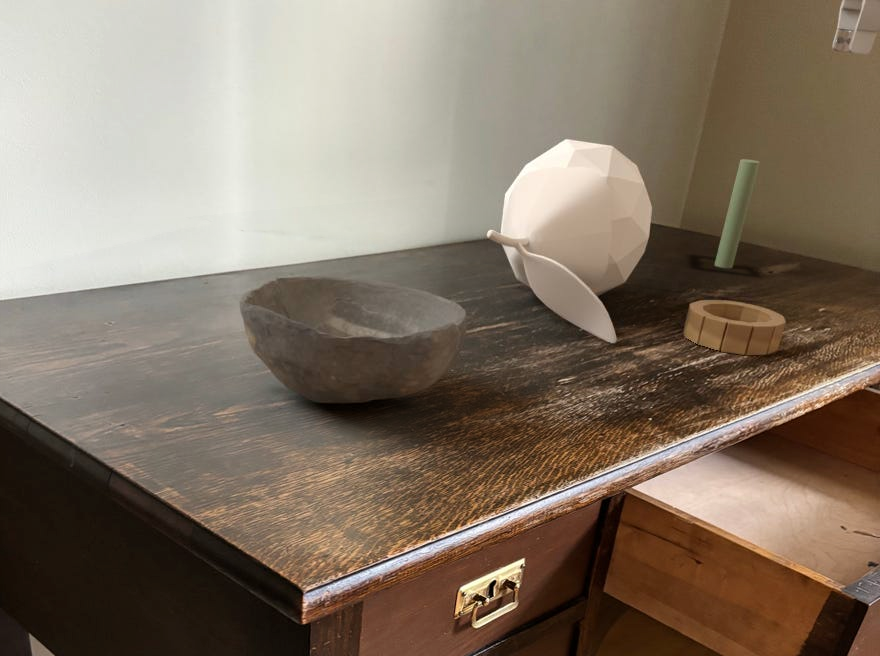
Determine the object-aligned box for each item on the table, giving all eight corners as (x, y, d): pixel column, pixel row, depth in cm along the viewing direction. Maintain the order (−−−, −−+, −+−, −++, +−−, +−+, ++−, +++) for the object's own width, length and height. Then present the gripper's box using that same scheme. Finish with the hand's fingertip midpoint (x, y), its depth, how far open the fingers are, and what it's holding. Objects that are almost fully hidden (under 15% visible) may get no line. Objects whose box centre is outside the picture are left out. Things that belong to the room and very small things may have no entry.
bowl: (488, 388, 84) (501, 294, 80) (405, 454, 71) (414, 345, 66) (308, 347, 90) (310, 257, 85) (198, 401, 76) (195, 297, 72)
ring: (771, 335, 107) (779, 307, 105) (781, 360, 99) (790, 331, 97) (682, 322, 108) (688, 295, 107) (684, 346, 100) (691, 317, 99)
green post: (749, 271, 134) (778, 160, 126) (753, 284, 128) (785, 168, 120) (690, 264, 135) (716, 153, 127) (692, 276, 129) (720, 160, 121)
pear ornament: (604, 100, 109) (498, 111, 89) (732, 251, 110) (656, 298, 89) (511, 211, 120) (397, 244, 100) (627, 349, 121) (538, 410, 100)
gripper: (978, -148, 74) (907, 60, 82) (918, -116, 91) (864, 54, 99) (893, -156, 75) (831, 50, 83) (849, -123, 92) (801, 46, 100)
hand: (849, 52), depth 91 cm, fingers open, 8 cm apart
